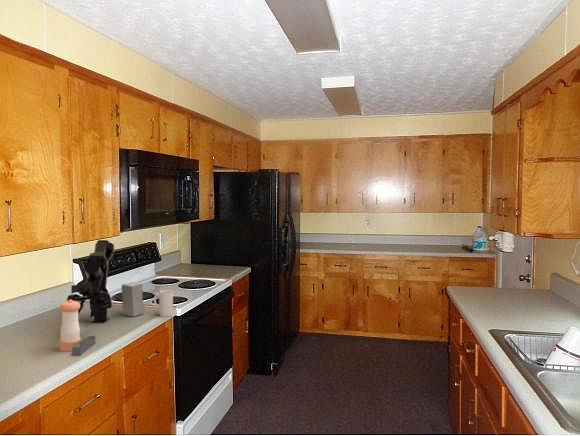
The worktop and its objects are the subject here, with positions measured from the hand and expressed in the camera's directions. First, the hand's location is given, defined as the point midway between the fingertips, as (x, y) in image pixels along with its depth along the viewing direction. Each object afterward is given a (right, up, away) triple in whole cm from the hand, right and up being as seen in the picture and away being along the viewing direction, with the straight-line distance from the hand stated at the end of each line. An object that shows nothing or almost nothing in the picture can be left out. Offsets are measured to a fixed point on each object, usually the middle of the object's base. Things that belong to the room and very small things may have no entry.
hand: (82, 317), depth 168 cm
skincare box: (+6, -8, +37) cm, 38 cm away
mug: (+21, -8, +38) cm, 44 cm away
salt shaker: (0, -10, -9) cm, 13 cm away
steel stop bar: (+5, -10, -9) cm, 15 cm away
